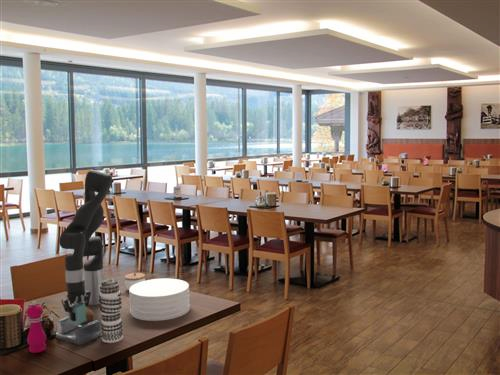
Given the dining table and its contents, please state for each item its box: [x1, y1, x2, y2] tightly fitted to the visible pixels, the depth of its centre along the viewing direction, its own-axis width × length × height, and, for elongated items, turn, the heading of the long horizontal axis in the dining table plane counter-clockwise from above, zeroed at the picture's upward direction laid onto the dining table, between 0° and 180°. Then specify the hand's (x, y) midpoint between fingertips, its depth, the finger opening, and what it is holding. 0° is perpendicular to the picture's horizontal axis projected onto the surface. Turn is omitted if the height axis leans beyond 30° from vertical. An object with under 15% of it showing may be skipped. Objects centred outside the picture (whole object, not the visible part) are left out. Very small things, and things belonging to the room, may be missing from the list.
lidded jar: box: [124, 271, 146, 290], centre depth 294 cm, size 11×11×9 cm
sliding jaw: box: [56, 315, 80, 334], centre depth 234 cm, size 2×9×6 cm, turn 147°
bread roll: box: [79, 306, 94, 325], centre depth 251 cm, size 10×10×8 cm
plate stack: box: [128, 277, 191, 322], centre depth 261 cm, size 28×28×12 cm
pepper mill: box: [26, 300, 48, 354], centre depth 218 cm, size 7×7×20 cm
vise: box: [55, 319, 102, 346], centre depth 231 cm, size 15×11×6 cm
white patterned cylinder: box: [98, 278, 124, 344], centre depth 227 cm, size 9×9×25 cm
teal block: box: [68, 303, 87, 325], centre depth 230 cm, size 6×4×7 cm, turn 57°
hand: (77, 318), depth 231 cm, fingers closed on teal block, 4 cm apart
